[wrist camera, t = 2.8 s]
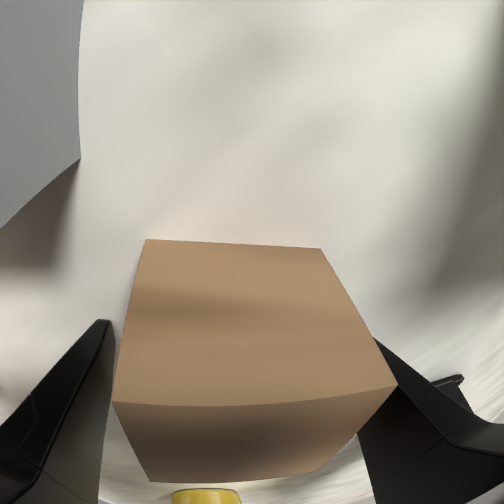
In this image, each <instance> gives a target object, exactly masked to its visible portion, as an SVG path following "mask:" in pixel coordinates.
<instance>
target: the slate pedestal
mask: <svg viewBox="0 0 504 504" xmlns="http://www.w3.org/2000/svg"><path fill="white" fill-rule="evenodd" d="M83 3H84V0H0V228H2V227H3V226H4V225H5V224H6V223H7V222H8V221H9V220H10V219H11V218H12V217H13V216H14V215H15V214H16V213H17V212H18V211H19V210H20V209H21V208H22V207H23V206H24V205H25V204H27V203H28V202H29V201H30V200H31V199H32V198H33V197H34V196H35V195H36V194H37V193H39V192H40V191H41V190H42V189H43V188H44V187H45V186H47V185H48V184H49V183H50V182H51V181H52V180H54V179H55V178H56V177H57V176H58V175H60V174H61V173H62V172H63V171H64V170H66V169H67V168H68V167H69V166H71V165H72V164H73V163H75V162H76V161H77V160H78V159H80V158H81V151H80V138H79V119H78V60H79V42H80V29H81V19H82V11H83Z"/></svg>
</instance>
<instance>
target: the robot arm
mask: <svg viewBox="0 0 504 504" xmlns="http://www.w3.org/2000/svg"><path fill="white" fill-rule="evenodd" d="M373 339H374V340H375V342H376V344H377V346H378V348H379V350H380V351H381V353H382V355H383V357H384V359H385V361H386V362H387V364H388V366H389V368H390V370H391V372H392V374H393V375H394V377H395V379H396V381H397V383H398V385H397V387H396V388H395V389H394V390H393V392H392V393H391V394H390V395H389V397H388V398H387V399H386V400H385V401H384V403H383V404H382V405H381V406H380V407H379V409H378V410H377V411H376V412H375V413H374V414H373V415H372V417H371V418H370V419H369V420H368V421H367V422H366V423H365V424H364V425H363V426H362V428H361V429H360V430H359V431H358V432H357V435H358V439H359V442H360V446H361V449H362V453H363V456H364V460H365V463H366V467H367V470H368V474H369V478H370V481H371V485H372V490H373V493H374V497H375V500H376V504H504V424H496V423H491V422H487V421H485V420H483V419H482V418H480V417H478V416H477V415H475V414H474V413H473V411H472V409H471V407H470V406H469V404H468V402H467V400H466V399H465V397H464V395H463V394H462V392H461V390H460V389H459V387H458V386H459V385H460V384H461V383H462V382H463V380H464V377H463V375H462V374H459V375H456V376H453V377H450V378H447V379H444V380H441V381H437V382H434V383H430V382H429V381H428V380H427V379H425V378H424V377H423V376H422V375H420V374H419V373H418V372H417V371H415V370H414V369H413V368H412V367H410V366H409V365H408V364H407V363H405V362H404V361H403V360H402V359H400V358H399V357H398V356H396V355H395V354H394V353H393V352H391V351H390V350H389V349H388V348H386V347H385V346H384V345H383V344H381V343H380V342H379V341H377V340H376V339H375V338H374V337H373ZM114 355H115V336H114V331H113V327H112V323H111V321H110V320H104V319H98V320H96V321H95V322H94V323H93V324H92V325H91V326H90V327H89V328H88V330H87V331H86V332H85V333H84V334H83V335H82V336H81V337H80V338H79V339H78V340H77V341H76V342H75V343H74V344H73V346H72V347H71V348H70V349H69V350H68V351H67V352H66V353H65V354H64V355H63V356H62V358H61V359H60V360H59V361H58V362H57V363H56V364H55V365H54V366H53V368H52V369H51V370H50V371H49V372H48V373H47V374H46V376H45V377H44V378H43V379H42V380H41V381H40V382H39V384H38V385H37V386H36V387H35V388H34V389H33V391H32V392H31V393H30V394H31V395H28V396H27V397H26V399H25V400H24V401H23V402H22V403H21V404H20V406H19V407H18V408H17V409H16V410H15V411H14V412H13V414H12V415H11V416H10V417H9V418H8V419H7V420H6V421H5V422H4V423H3V424H2V425H1V426H0V504H98V491H99V479H100V469H101V459H102V451H103V443H104V436H105V429H106V422H107V416H108V410H109V404H110V398H111V392H112V381H113V367H114Z"/></svg>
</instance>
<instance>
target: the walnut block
mask: <svg viewBox="0 0 504 504" xmlns="http://www.w3.org/2000/svg"><path fill="white" fill-rule="evenodd" d="M397 385H398V383H397V381H396V379H395V377H394V375H393V374H392V372H391V370H390V368H389V366H388V364H387V362H386V361H385V359H384V357H383V355H382V353H381V351H380V350H379V348H378V346H377V344H376V342H375V340H374V339H373V337H372V335H371V333H370V332H369V330H368V328H367V326H366V324H365V323H364V321H363V319H362V317H361V316H360V314H359V312H358V311H357V309H356V307H355V305H354V304H353V302H352V300H351V299H350V297H349V295H348V293H347V292H346V290H345V288H344V287H343V285H342V283H341V282H340V280H339V278H338V277H337V275H336V273H335V272H334V270H333V269H332V267H331V265H330V264H329V262H328V260H327V259H326V257H325V256H324V254H323V252H322V251H321V249H317V248H300V247H282V246H265V245H247V244H228V243H210V242H190V241H171V240H151V239H146V241H145V245H144V248H143V252H142V256H141V259H140V263H139V267H138V270H137V274H136V278H135V282H134V286H133V290H132V294H131V299H130V303H129V307H128V312H127V316H126V321H125V325H124V330H123V335H122V340H121V345H120V350H119V356H118V361H117V367H116V373H115V379H114V385H113V392H112V399H111V401H112V404H113V406H114V409H115V411H116V413H117V416H118V418H119V420H120V423H121V425H122V427H123V429H124V431H125V434H126V436H127V438H128V440H129V442H130V444H131V446H132V448H133V450H134V452H135V454H136V456H137V458H138V460H139V462H140V464H141V466H142V468H143V469H144V471H145V473H146V475H147V477H148V478H149V480H150V482H165V483H227V482H242V481H254V480H263V479H272V478H279V477H286V476H293V475H299V474H305V473H310V472H315V471H318V470H319V469H320V468H321V467H322V466H323V465H325V464H326V463H327V462H328V461H329V460H330V459H331V458H332V457H333V456H334V455H335V454H336V453H337V452H338V451H339V450H340V449H341V448H342V447H343V446H344V445H345V444H346V443H347V442H348V441H349V440H350V439H351V438H352V437H353V436H354V435H355V434H356V433H357V432H358V431H359V430H360V429H361V428H362V426H363V425H364V424H365V423H366V422H367V421H368V420H369V419H370V418H371V417H372V415H373V414H374V413H375V412H376V411H377V410H378V409H379V407H380V406H381V405H382V404H383V403H384V401H385V400H386V399H387V398H388V397H389V395H390V394H391V393H392V392H393V390H394V389H395V388H396V387H397Z"/></svg>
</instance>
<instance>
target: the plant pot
mask: <svg viewBox="0 0 504 504" xmlns="http://www.w3.org/2000/svg"><path fill="white" fill-rule="evenodd" d="M172 504H242V503H241V500H240V498H239V495H238V494H237V492H235V491H232V490H225V489H191V490H182V491H178V492H175V493H174V494H173V498H172Z"/></svg>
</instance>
